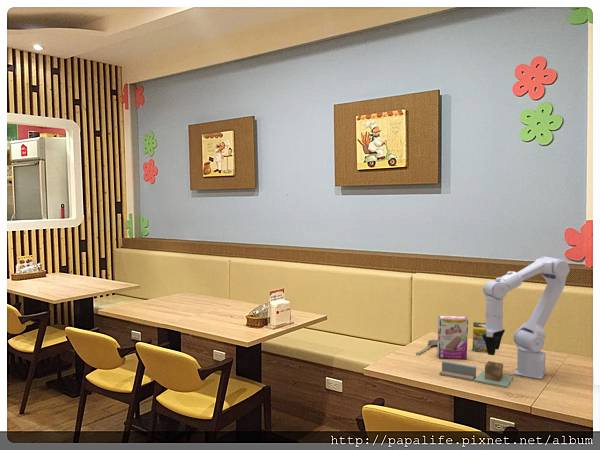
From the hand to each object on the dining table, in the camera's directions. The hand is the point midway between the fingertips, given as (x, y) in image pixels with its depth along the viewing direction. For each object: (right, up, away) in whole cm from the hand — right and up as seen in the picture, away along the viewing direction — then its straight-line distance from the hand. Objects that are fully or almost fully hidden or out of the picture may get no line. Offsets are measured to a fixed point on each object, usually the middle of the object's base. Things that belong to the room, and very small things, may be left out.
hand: (493, 351), depth 193 cm
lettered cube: (-1, -9, -2) cm, 9 cm away
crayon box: (+6, -7, +32) cm, 33 cm away
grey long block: (-12, -9, +2) cm, 16 cm away
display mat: (0, -10, -2) cm, 10 cm away
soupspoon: (-15, -8, +35) cm, 39 cm away
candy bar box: (-8, -8, +23) cm, 26 cm away
